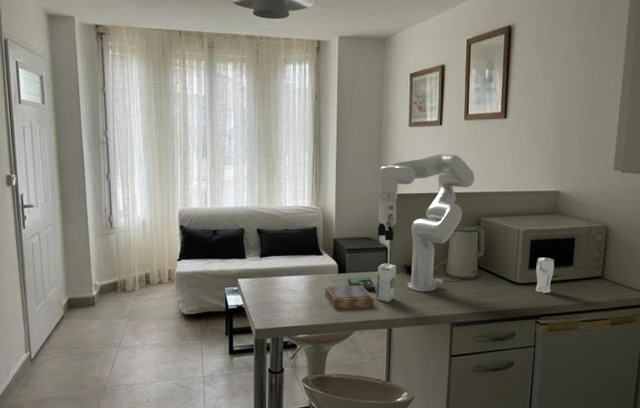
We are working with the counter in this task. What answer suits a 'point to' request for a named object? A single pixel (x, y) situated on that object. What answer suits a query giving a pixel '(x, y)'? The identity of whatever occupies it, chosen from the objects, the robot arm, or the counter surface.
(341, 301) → the stand
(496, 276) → the counter surface
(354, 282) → the disk drive
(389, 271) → the syrup box
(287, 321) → the counter surface
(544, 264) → the beer glass
